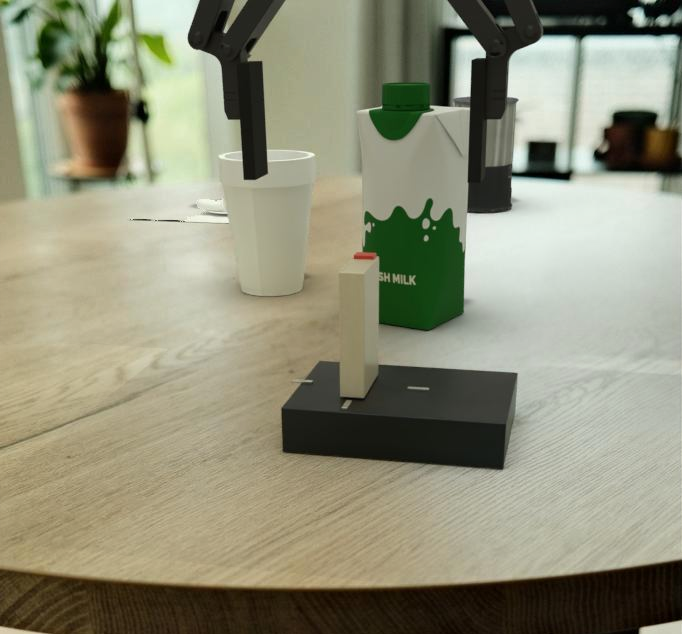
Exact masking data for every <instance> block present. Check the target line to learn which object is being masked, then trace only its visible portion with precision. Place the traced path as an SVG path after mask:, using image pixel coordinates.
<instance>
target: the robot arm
mask: <svg viewBox="0 0 682 634" xmlns="http://www.w3.org/2000/svg"><path fill="white" fill-rule="evenodd" d="M446 1H447V2H448V4H449V5H450V6H451V7H452V8H453V10H454V12H455V13H456V14H457V16H458V17H459V19H460V20H461V21H462V22H463V24H464V25H465V26H466V27H467V29H468V30H469V31H470V33H471V34H472V36H473V37H474V38H475V40H476V41H477V42H478V44H479V45H480V47H481V48H482V49H483V51H484V52H485V57H476V58H473V59H471V61H470V63H471V64H470V91H469V92H470V94H469V97H470V121H469V152H468V182H467V183H481V181H482V180H483V178H484V177H485V164H486V138H487V119H502V118H503V116H504V113H505V111H506V109H507V97H508V93H509V90H508V89H509V73H510V72H509V71H510V61H511V58H512V56H513V55H514V54H515V52H517V51H519V50H521V49H525V48H526V47H529V46H532V45H535V44H536V43H538V42H539V41H540V40H541V39H542V37H543V35H544V27H543V23H542V21H541V18H540V16H539V13H538V11H537V9H536V6H535V4H534V1H533V0H503V1H504V4H505V7H506V8H507V11H508V13H509V15H510V18H511V21H512V23H513V25H514V26H511V27H509V28H507V29H503V28H502V26H501V25H500V24H499V23H498V21H497V20H496V19H495V18H494V15H492V13H491V11H490V10H489V9H488V8H487V6H486V5H485V4H484V2H483V0H446ZM235 2H236V0H199V1H198V3H197V7H196V9H195V11H194V15H193V18H192V21H191V24H190V27H189V30H188V32H187V39H186V40H187V43H188V45H189V46H190V48H192V49H193V50H196V51H201V52H204V53H206V54H209V55H211V56H213V57H215V58H216V59H217V60H218V62H219V64H220V69H221V82H222V92H223V93H222V96H223V111H224V114H225V116H226V118H227V120H228V121H239V126H240V143H241V144H240V145H241V151H242V161H243V178H244V180H257V179H259V178H261V177H263V176H265V175H267V174H268V162H267V150H268V147H267V146H268V145H267V126H266V125H267V124H266V104H265V103H266V102H265V84H264V83H265V82H264V66H263V60H249V59H250V58H251V57H252V54H251V53H252V51H253V49H254V48H255V46H256V45H257V43H258V42H259V40H260V39H261V38H262V36H263V35H264V33H265V31H266V30H267V29H268V27H269V26H270V24H271V23H272V21H273V20H274V18H275V17H276V15H277V14H278V12H279V11H280V9H281V8H282V6H283V5H284V4H285V2H286V0H246V2H245V3H244V4H243V6H242V8H241V10H240V11H239V12H238V14H237V16H236V17H235V19H234V20H233V22H232V24H231V25H230V26H229V28H228V29H227V30H226V32H225V29H226V26H227V24H228V21H229V18H230V15H231V13H232V9H233V7H234V4H235Z"/></svg>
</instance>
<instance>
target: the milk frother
mask: <svg viewBox="0 0 682 634" xmlns="http://www.w3.org/2000/svg"><path fill="white" fill-rule="evenodd" d="M452 102H453V103H454V107H465V108H470V96H459V97H454V98H452ZM518 102H519V98H517V97H511V96H507V109H506V111H505V113H504V116H503V118H502V119H487V138H486V164H485V177H484V178H483V180H482V181H481V183H468V203H467V213H469V212H473V213H494V212H502V211H507V210H511V208H513V203H512V193H513V190H512V189H513V188H512V175H513V162H514V147H515V134H516V133H515V131H516V130H515V128H516V113H517V103H518Z"/></svg>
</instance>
